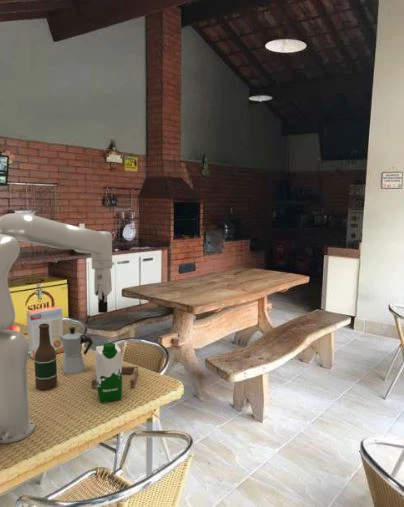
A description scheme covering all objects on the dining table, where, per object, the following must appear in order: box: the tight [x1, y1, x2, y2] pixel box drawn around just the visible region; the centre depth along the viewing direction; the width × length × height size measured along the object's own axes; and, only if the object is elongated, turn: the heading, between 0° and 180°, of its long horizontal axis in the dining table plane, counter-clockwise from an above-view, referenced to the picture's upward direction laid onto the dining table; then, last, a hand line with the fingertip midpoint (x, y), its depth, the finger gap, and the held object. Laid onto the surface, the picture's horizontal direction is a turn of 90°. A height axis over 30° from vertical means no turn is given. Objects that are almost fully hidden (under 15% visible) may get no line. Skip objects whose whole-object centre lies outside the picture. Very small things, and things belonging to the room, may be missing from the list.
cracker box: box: [26, 305, 64, 360], centre depth 190 cm, size 14×6×21 cm, turn 130°
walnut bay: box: [91, 365, 139, 389], centre depth 164 cm, size 13×15×3 cm
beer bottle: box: [34, 324, 58, 392], centre depth 157 cm, size 8×8×24 cm
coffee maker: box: [58, 326, 94, 375], centre depth 173 cm, size 15×9×18 cm, turn 80°
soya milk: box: [94, 342, 123, 403], centre depth 150 cm, size 9×9×20 cm
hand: (102, 312), depth 161 cm, fingers closed
